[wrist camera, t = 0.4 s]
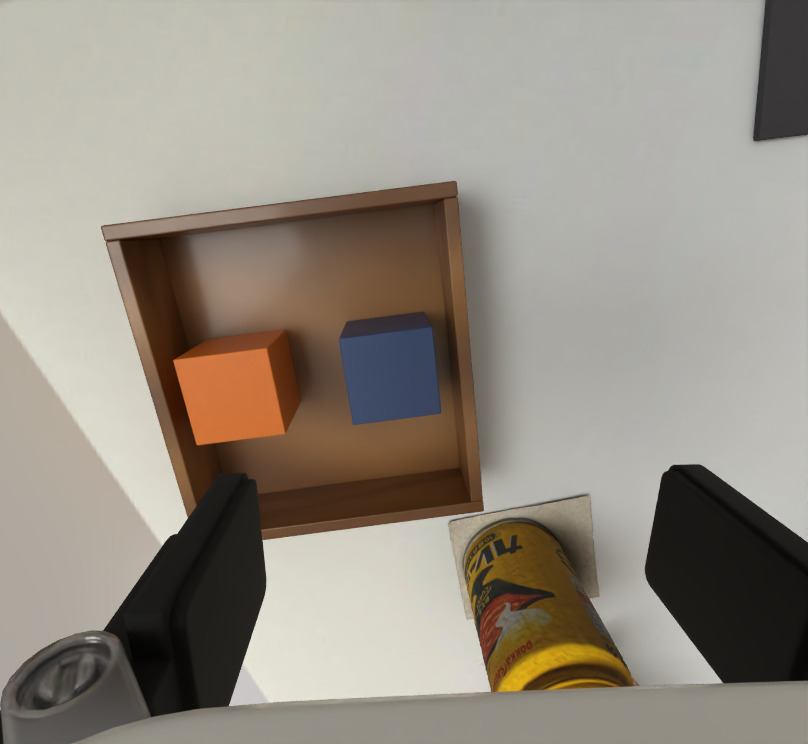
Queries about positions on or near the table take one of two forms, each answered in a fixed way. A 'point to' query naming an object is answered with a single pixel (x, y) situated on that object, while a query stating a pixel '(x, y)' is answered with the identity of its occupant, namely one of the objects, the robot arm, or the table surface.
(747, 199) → the table surface
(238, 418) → the orange cube
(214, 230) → the tray
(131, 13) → the table surface
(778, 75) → the mat
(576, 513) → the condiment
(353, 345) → the blue cube
